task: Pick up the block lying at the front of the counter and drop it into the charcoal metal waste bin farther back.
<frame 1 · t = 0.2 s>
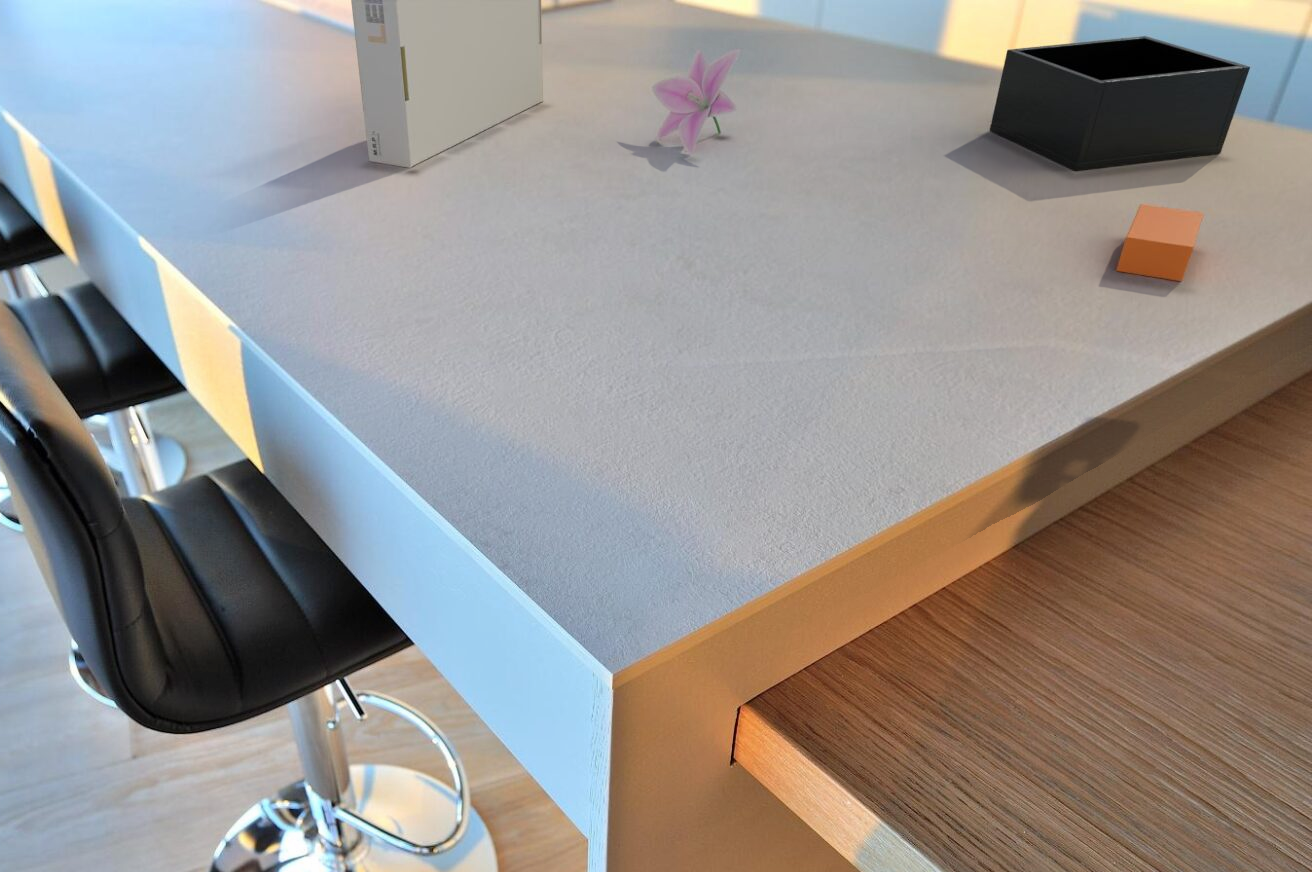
block: (1154, 258, 94), on the table
trash can: (1100, 141, 121), on the table
packaging: (461, 130, 134), on the table
lily: (693, 141, 127), on the table
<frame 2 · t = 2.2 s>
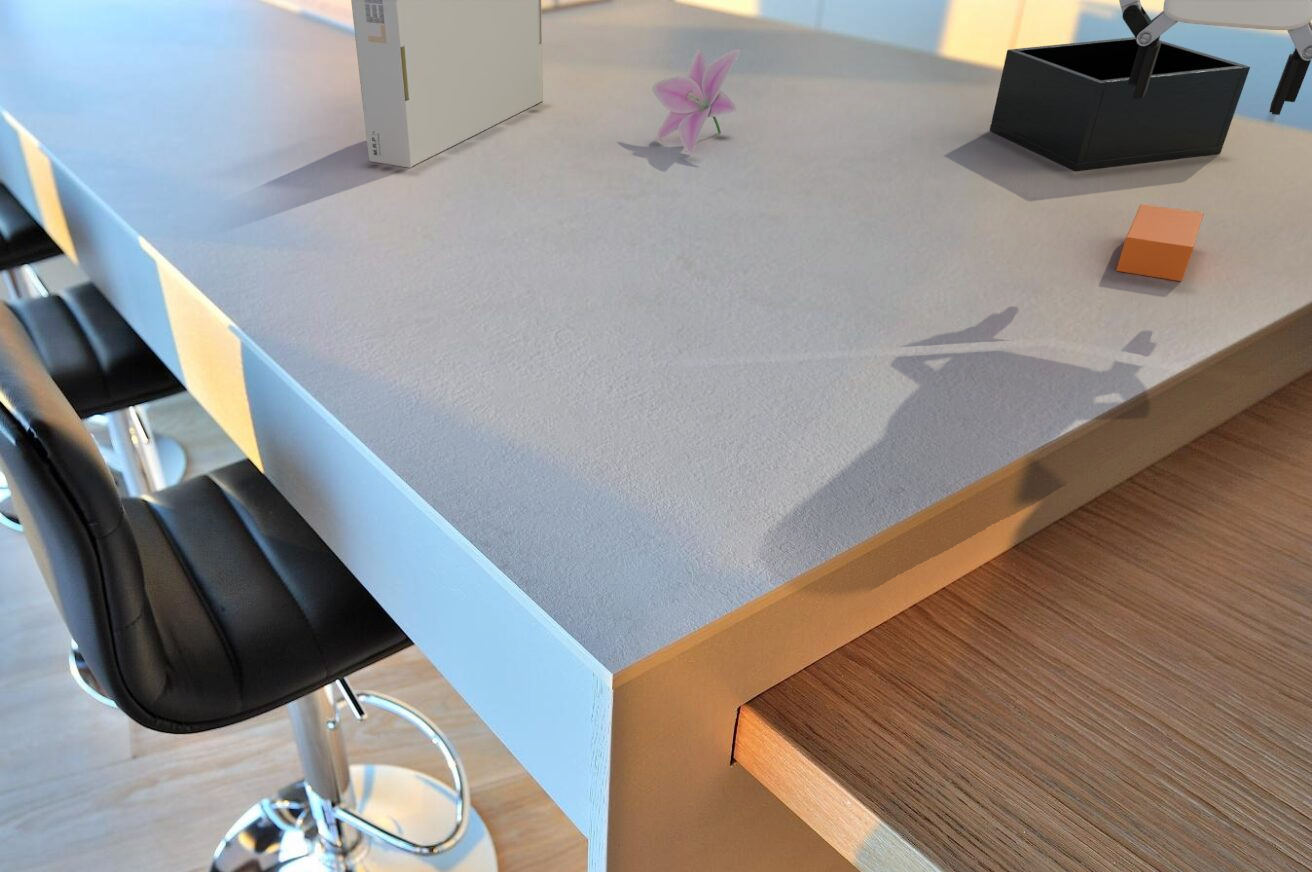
hand: (1205, 102, 86), 13 cm above the table, tool pointing down, fingers open, 9 cm apart
nothing on the table moved.
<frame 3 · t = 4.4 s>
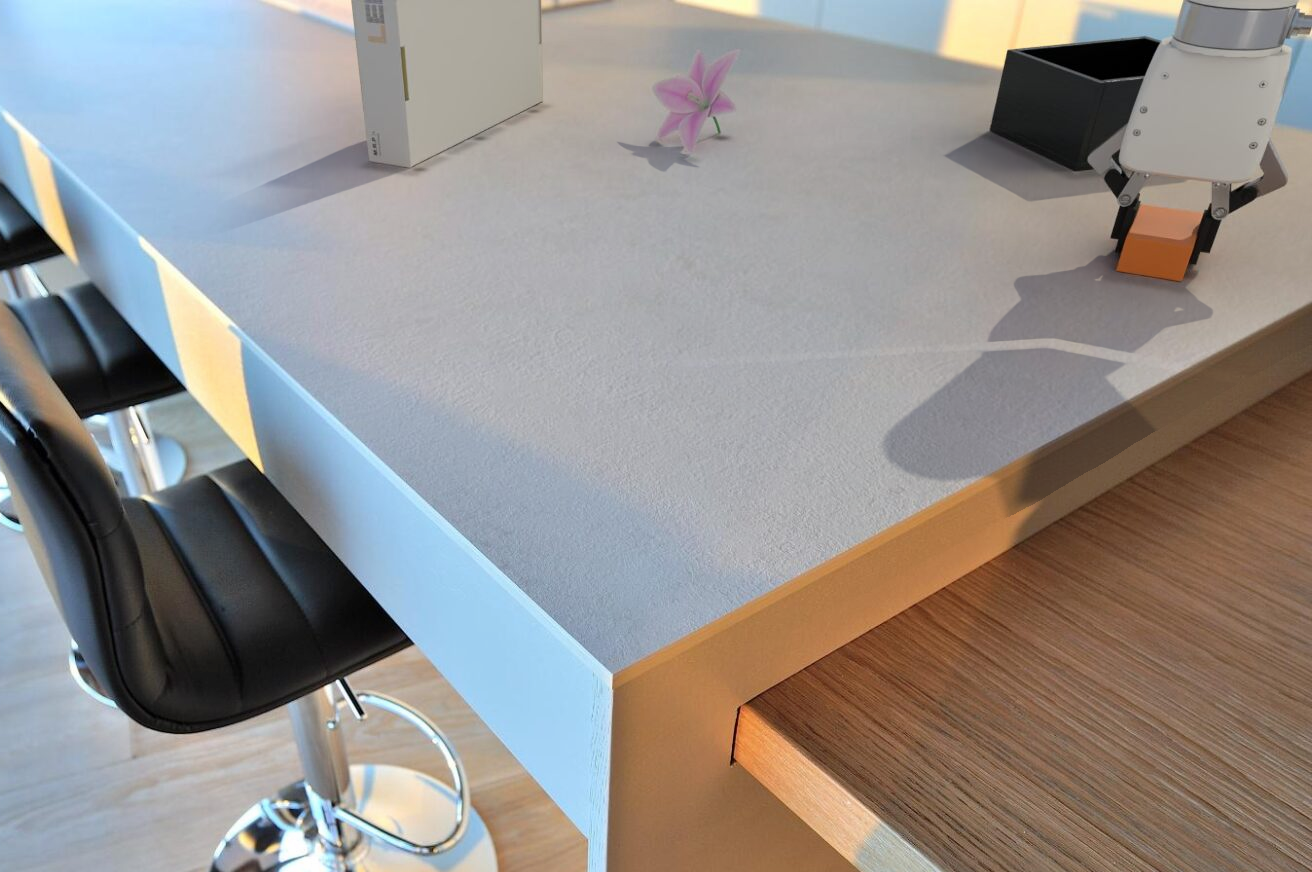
hand: (1157, 251, 94), 1 cm above the table, tool pointing down, fingers closed on block, 5 cm apart
block: (1154, 258, 94), on the table, touching gripper
everything else where it was.
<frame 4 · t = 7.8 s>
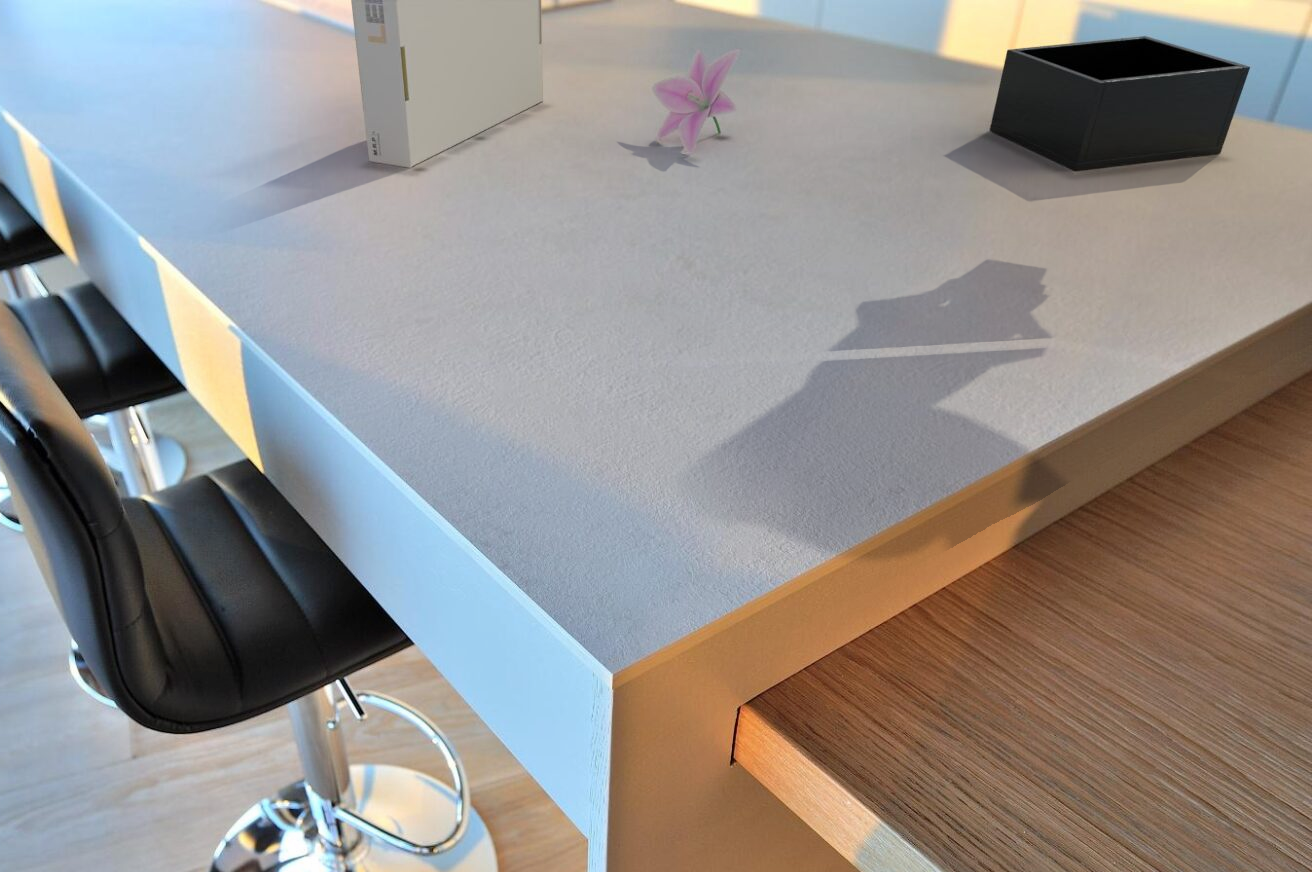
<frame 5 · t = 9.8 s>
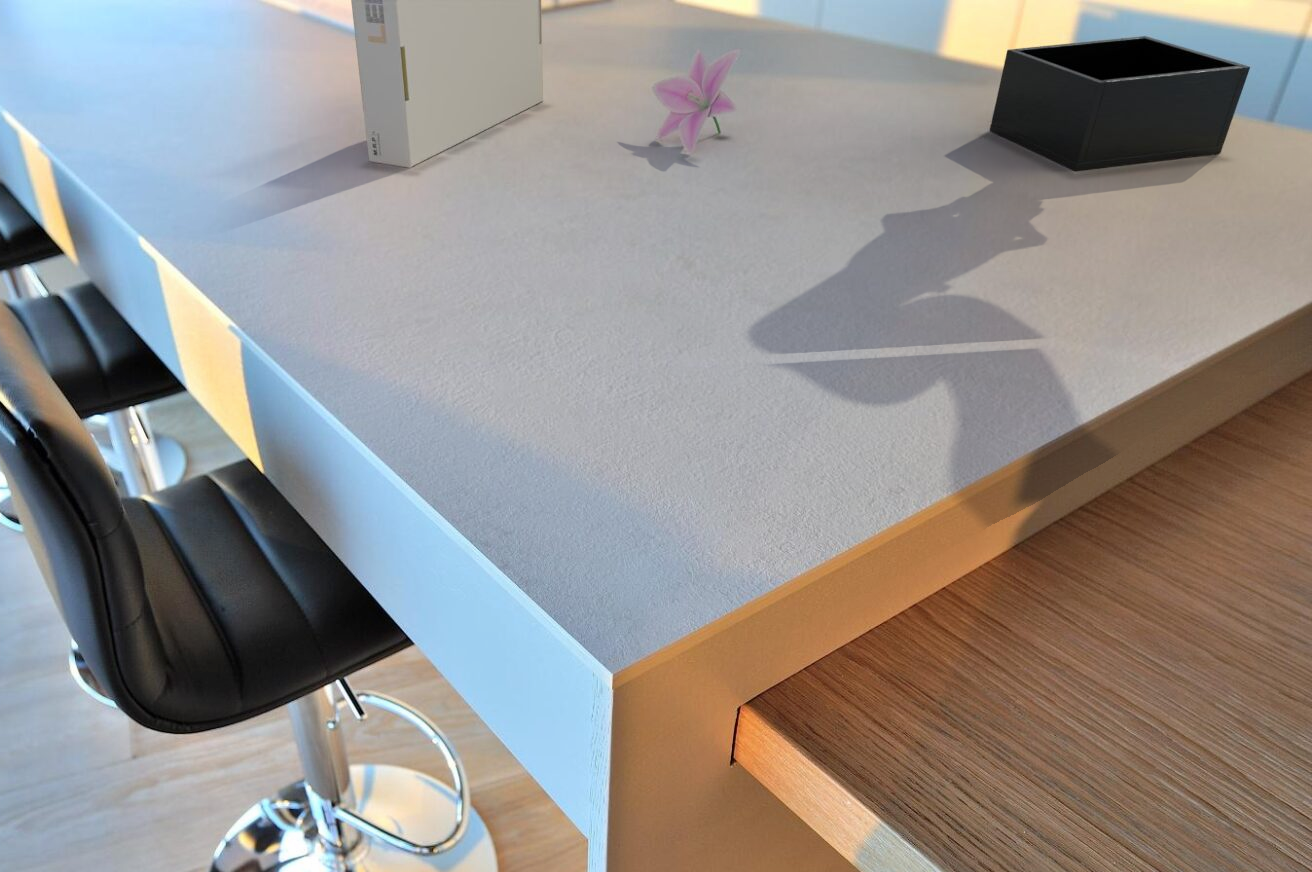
when the fingers open (14 cm above the table, at t = 11.5 s): block drops 13 cm, resting on trash can.
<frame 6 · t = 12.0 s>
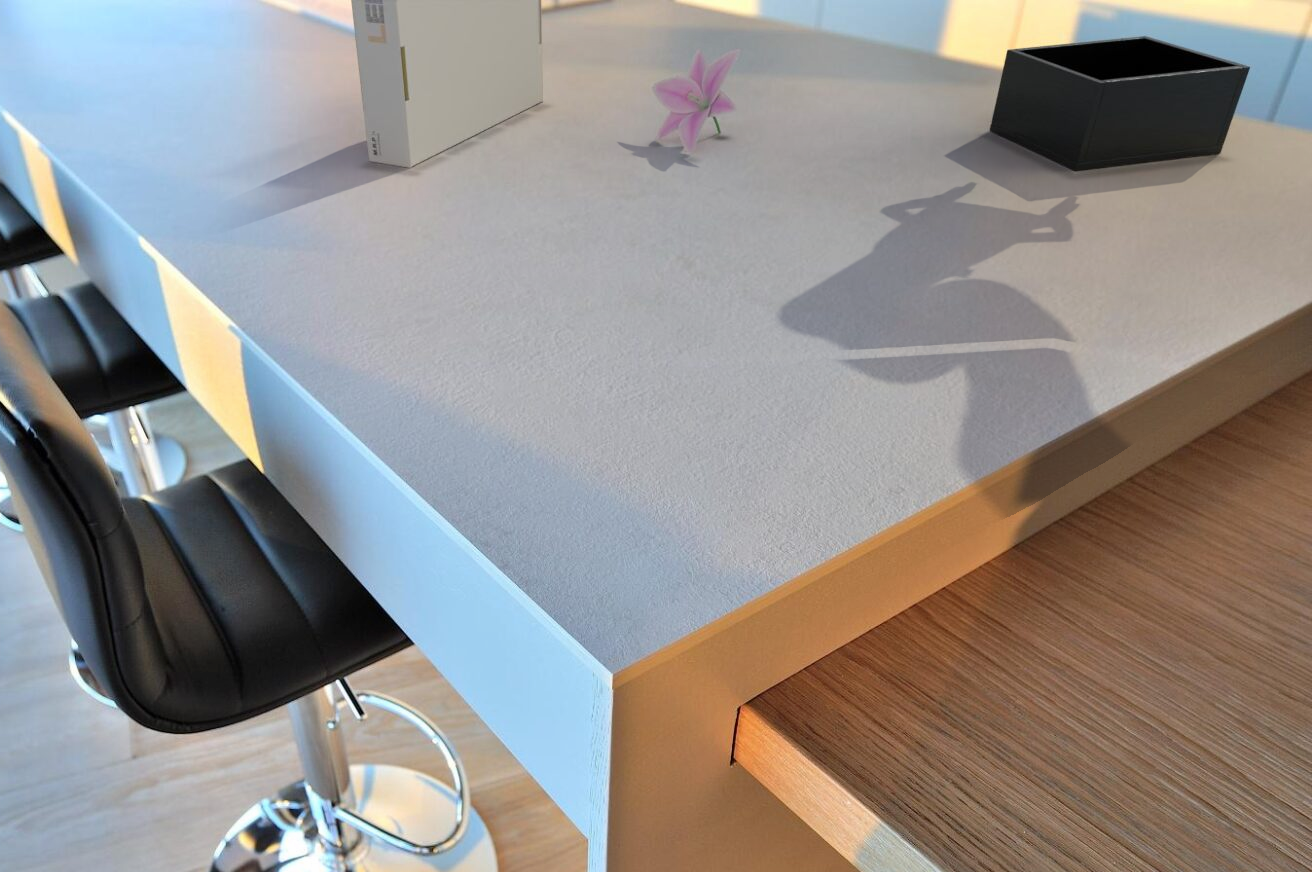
block: (1102, 134, 120), point 1 cm above the table, touching trash can
everything else where it was.
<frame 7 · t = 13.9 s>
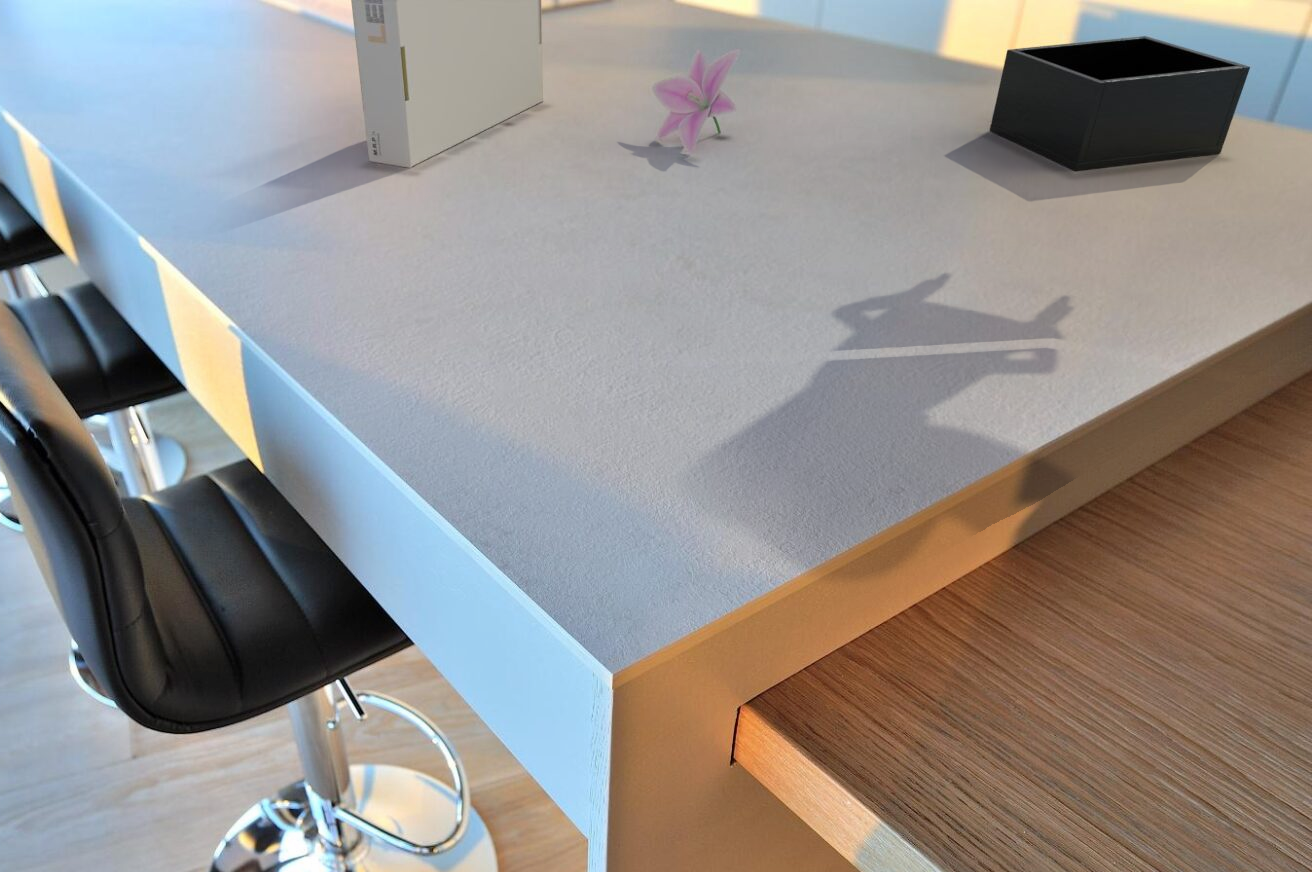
nothing on the table moved.
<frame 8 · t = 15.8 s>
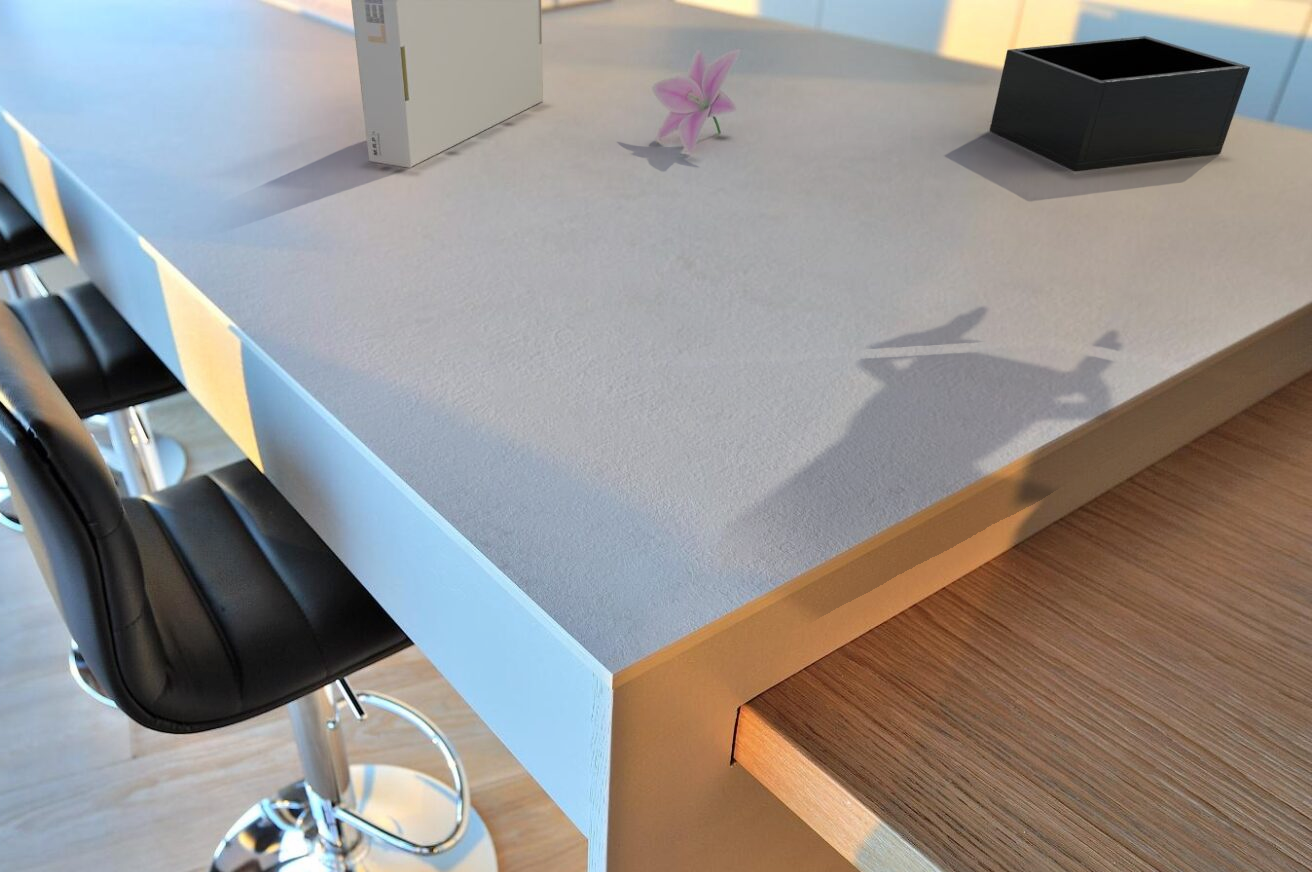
nothing on the table moved.
at the end: block inside the target area in the trash can (0.0 cm from its centre), point 0.8 cm above the trash can's base; the gripper is holding nothing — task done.
